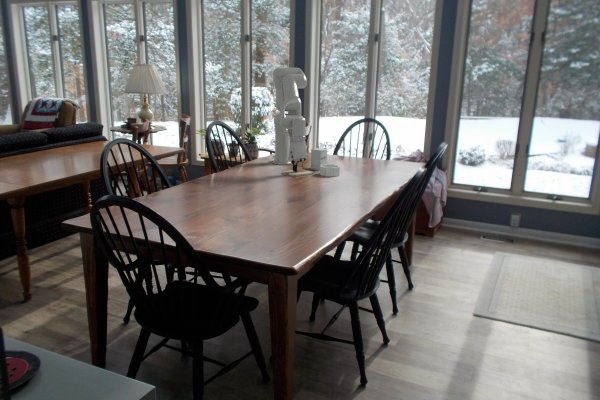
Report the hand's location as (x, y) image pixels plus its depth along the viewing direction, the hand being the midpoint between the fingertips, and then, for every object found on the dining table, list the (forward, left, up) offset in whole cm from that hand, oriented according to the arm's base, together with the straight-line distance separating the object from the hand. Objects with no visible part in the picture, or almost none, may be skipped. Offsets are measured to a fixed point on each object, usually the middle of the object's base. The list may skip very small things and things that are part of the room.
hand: (297, 170), depth 289 cm
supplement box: (-4, +20, -3) cm, 20 cm away
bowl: (+12, +14, -3) cm, 19 cm away
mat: (0, 0, -3) cm, 3 cm away
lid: (0, 0, -2) cm, 2 cm away
